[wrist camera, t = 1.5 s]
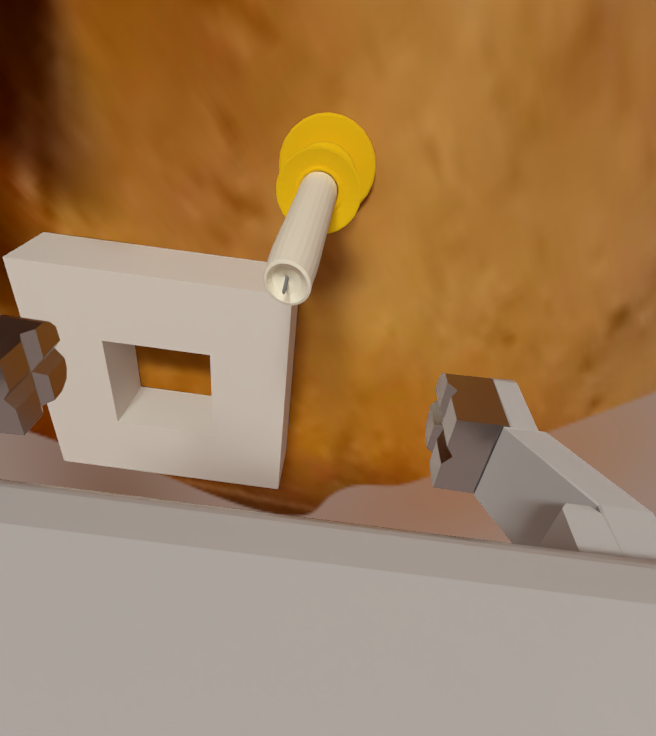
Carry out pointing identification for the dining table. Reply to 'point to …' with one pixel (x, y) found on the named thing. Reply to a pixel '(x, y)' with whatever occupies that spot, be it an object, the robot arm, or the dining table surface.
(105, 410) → the hole board
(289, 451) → the dining table surface
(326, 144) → the candle
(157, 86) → the dining table surface
